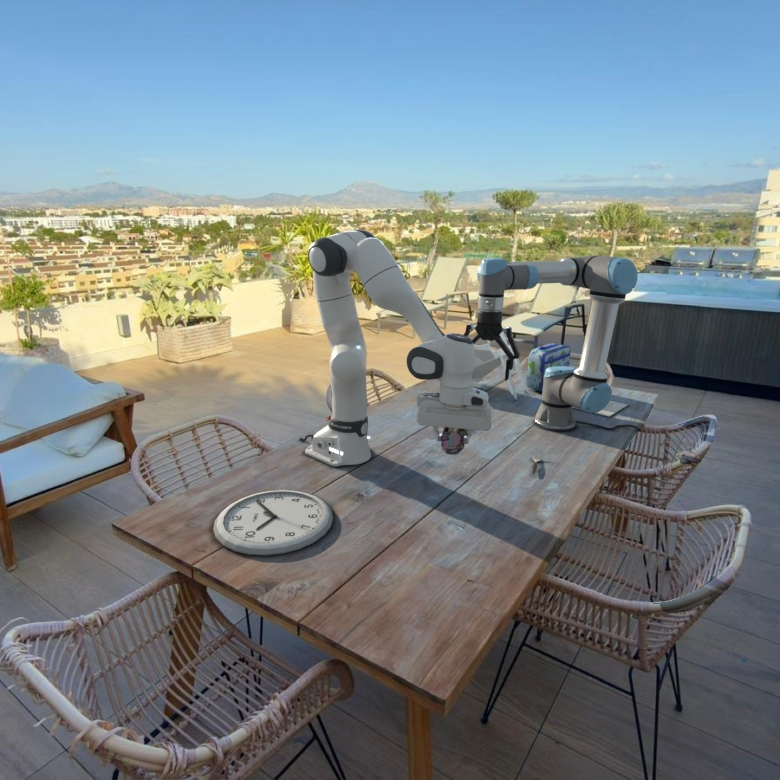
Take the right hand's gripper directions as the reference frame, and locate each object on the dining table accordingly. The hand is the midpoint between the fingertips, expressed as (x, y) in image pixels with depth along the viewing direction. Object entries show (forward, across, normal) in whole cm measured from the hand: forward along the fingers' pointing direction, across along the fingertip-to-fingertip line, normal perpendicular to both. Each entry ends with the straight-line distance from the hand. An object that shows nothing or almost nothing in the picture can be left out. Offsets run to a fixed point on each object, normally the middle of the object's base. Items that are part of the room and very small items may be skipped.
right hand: (485, 376), depth 167 cm
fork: (+28, +18, 0) cm, 33 cm away
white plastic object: (+28, -16, +71) cm, 78 cm away
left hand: (+11, -2, -29) cm, 32 cm away
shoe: (+14, -4, -20) cm, 25 cm away
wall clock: (+28, -40, -61) cm, 78 cm away
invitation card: (+28, +37, +73) cm, 86 cm away
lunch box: (+28, +12, +92) cm, 97 cm away
